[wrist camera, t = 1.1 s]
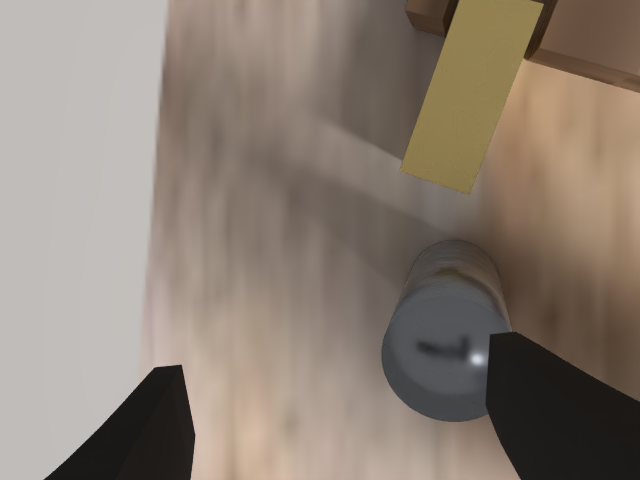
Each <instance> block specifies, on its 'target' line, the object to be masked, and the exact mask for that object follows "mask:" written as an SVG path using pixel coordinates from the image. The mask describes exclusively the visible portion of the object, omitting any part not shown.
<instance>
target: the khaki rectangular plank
mask: <svg viewBox="0 0 640 480" xmlns="http://www.w3.org/2000/svg"><path fill="white" fill-rule="evenodd" d="M543 5H544V4H542V3H538V2H535V1H531V0H459V3H458V6H457V8H456V11H455V14H454V17H453V20H452V23H451V25H450V28H449V31H448V34H447V37H446V40H445V43H444V45H443V48H442V51H441V54H440V57H439V60H438V62H437V65H436V68H435V71H434V74H433V77H432V79H431V82H430V85H429V88H428V91H427V94H426V96H425V99H424V102H423V105H422V108H421V111H420V114H419V116H418V119H417V122H416V125H415V128H414V131H413V133H412V136H411V139H410V142H409V145H408V148H407V150H406V153H405V156H404V159H403V162H402V165H401V167H400V170H399V171H401V172H404V173H407V174H410V175H413V176H416V177H419V178H422V179H424V180H427V181H430V182H433V183H436V184H439V185H442V186H445V187H448V188H451V189H454V190H457V191H460V192H462V193H465V194H468V195H469V194H470V191H471V189H472V186H473V183H474V181H475V178H476V176H477V173H478V171H479V168H480V166H481V163H482V161H483V158H484V155H485V153H486V150H487V148H488V145H489V143H490V140H491V138H492V135H493V133H494V130H495V128H496V125H497V122H498V120H499V117H500V115H501V112H502V110H503V107H504V105H505V102H506V100H507V97H508V94H509V92H510V89H511V87H512V84H513V82H514V79H515V77H516V74H517V72H518V69H519V66H520V64H521V61H522V59H523V56H524V54H525V51H526V49H527V46H528V44H529V41H530V38H531V36H532V33H533V31H534V28H535V26H536V23H537V21H538V18H539V16H540V13H541V11H542V8H543Z"/></svg>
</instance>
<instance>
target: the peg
mask: <svg viewBox="0 0 640 480" xmlns="http://www.w3.org/2000/svg"><path fill="white" fill-rule="evenodd" d="M507 332H512V328H511V324H510V320H509V316H508V312H507V308H506V304H505V300H504V296H503V292H502V288H501V284H500V279H499V275H498V271H497V269H496V266H495V264H494V263H493V261H492V260H491V258H490V257H489V256H488V255H487V254H486V253H485V252H484V251H483V250H482V249H480V248H479V247H477V246H475V245H473V244H471V243H468V242H464V241H458V240H449V241H443V242H439V243H436V244H434V245H432V246H430V247H429V248H427V249H426V250H424V251H423V252H422V253H421V254H420V255H419V257H418V258H417V259H416V261H415V263H414V265H413V267H412V269H411V272H410V274H409V277H408V279H407V282H406V284H405V287H404V289H403V292H402V294H401V297H400V299H399V302H398V304H397V307H396V309H395V312H394V314H393V317H392V319H391V321H390V324H389V326H388V329H387V331H386V334H385V337H384V340H383V345H382V365H383V369H384V373H385V376H386V378H387V380H388V382H389V384H390V386H391V388H392V389H393V391H394V392H395V393H396V395H397V396H398V397H399V398H400V399H401V400H402V401H403V402H404V403H405V404H407V405H408V406H409V407H410V408H412V409H413V410H415V411H417V412H418V413H421V414H423V415H425V416H427V417H430V418H433V419H437V420H441V421H449V422H461V421H468V420H472V419H476V418H479V417H482V416H484V415H486V414H488V411H487V408H486V405H485V401H486V386H487V371H488V356H489V340H490V334H497V333H507Z"/></svg>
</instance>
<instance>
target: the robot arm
mask: <svg viewBox="0 0 640 480" xmlns="http://www.w3.org/2000/svg"><path fill="white" fill-rule="evenodd" d="M485 405H486V408H487V411H488V413H489V416H490V418H491V421H492V423H493V426H494V428H495V431H496V433H497V436H498V438H499V440H500V443H501V445H502V447H503V448H504V450H505V452H506V454H507V456H508V457H509V459H510V461H511V463H512V465H513V466H514V468H515V470H516V472H517V473H518V475H519V477H520V479H521V480H640V402H639V401H637V400H635V399H633V398H631V397H629V396H627V395H625V394H623V393H621V392H620V391H618V390H616V389H614V388H612V387H610V386H608V385H606V384H605V383H603V382H601V381H599V380H597V379H596V378H594V377H592V376H590V375H589V374H587V373H585V372H583V371H582V370H580V369H578V368H577V367H575V366H573V365H571V364H570V363H568V362H566V361H565V360H563V359H561V358H560V357H558V356H556V355H555V354H553V353H551V352H550V351H548V350H547V349H545V348H543V347H542V346H540V345H538V344H537V343H535V342H533V341H531V340H530V339H528V338H526V337H524V336H523V335H521V334H519V333H517V332H507V333H497V334H490V340H489V356H488V371H487V386H486V401H485ZM194 444H195V431H194V426H193V421H192V416H191V410H190V405H189V400H188V395H187V390H186V385H185V380H184V374H183V369H182V365H174V366H164V367H155V368H154V369H153V370H152V371H151V372H150V373H149V374H148V375H147V376H146V378H145V379H144V380H143V381H142V382H141V383H140V384H139V385H138V386H137V387H136V389H135V390H134V391H133V392H132V393H131V394H130V395H129V396H128V398H127V399H126V400H125V401H124V402H123V403H122V404H121V405H120V406H119V408H118V409H117V410H116V411H115V412H114V413H113V414H112V415H111V416H110V417H109V418H108V419H107V420H106V421H105V422H104V424H103V425H102V426H101V427H100V428H99V429H98V430H97V431H96V432H95V433H94V434H93V435H92V436H91V437H90V438H89V439H88V440H86V441H85V443H83V444H82V445H81V446H80V447H79V448H78V449H77V450H76V451H75V452H74V453H73V454H72V455H71V456H70V457H69V458H68V459H67V460H66V461H65V462H64V463H63V464H61V465H60V466H59V467H58V468H57V469H56V470H55V471H53V472H52V473H51V474H50V475H49V476H48V477H46V478H45V479H44V480H190V479H191V471H192V463H193V454H194Z"/></svg>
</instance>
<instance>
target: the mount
mask: <svg viewBox="0 0 640 480" xmlns="http://www.w3.org/2000/svg"><path fill="white" fill-rule="evenodd" d="M457 3H458V0H408V2H407V5H406V8H405V11H406V13H407V15H408V18H409V20H410V22H411V24H412V26H413V28H416V29H419V30H423V31H426V32H430V33H433V34H437V35H440V36H444V37H446V34H447V31H448V28H449V25H450V23H451V20H452V17H453V14H454V11H455V8H456V6H457ZM528 61H531V62H534V63H538V64H541V65H545V66H548V67H552V68H555V69H559V70H562V71H565V72H569V73H572V74H576V75H579V76H583V77H586V78H590V79H593V80H597V81H600V82H604V83H607V84H611V85H614V86H618V87H621V88H625V89H628V90H632V91H635V92H638V93H640V0H552V2H551V5H550V7H549V10H548V12H547V15H546V17H545V20H544V23H543V25H542V28H541V30H540V33H539V35H538V38H537V40H536V43H535V45H534V48H533V50H532V53H531V55H530V58H529V60H528Z"/></svg>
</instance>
